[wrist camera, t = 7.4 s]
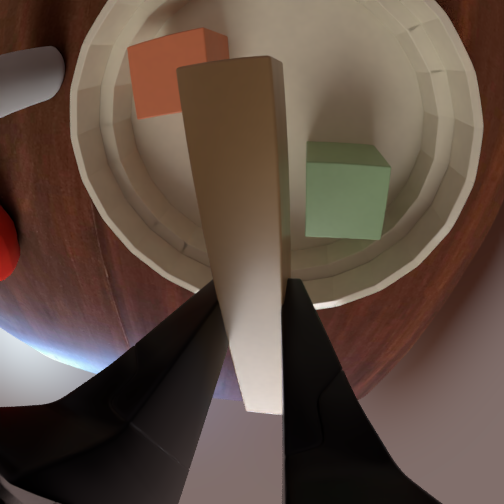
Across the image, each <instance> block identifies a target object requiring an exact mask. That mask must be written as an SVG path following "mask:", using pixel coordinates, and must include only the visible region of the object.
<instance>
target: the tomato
mask: <svg viewBox="0 0 504 504" xmlns="http://www.w3.org/2000/svg"><path fill="white" fill-rule="evenodd" d="M19 257H20V247H19V243H18V240H17V232H16V229H15V226H14V222H13V221H12V219H11V218H10V216H9V215H8V213H7V212H6V211H5V210H4V209H3V208H2V206H1V205H0V281H2V280H4V279H6V278H7V277H8V276H9V275H11V273H12V272H13V270H14V269H15V268H16V265H17V262H18V260H19Z"/></svg>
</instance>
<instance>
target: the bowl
mask: <svg viewBox="0 0 504 504" xmlns="http://www.w3.org/2000/svg"><path fill="white" fill-rule="evenodd" d="M201 27H204V28H207V29H209V30H212V31H215V32H217V33H220V34H223V35H225V36H227V37H228V47H229V58H230V59H232V58H241V57H252V56H265V55H268V56H271V57H273V58H275V59H277V60H279V61H281V62H282V63H283V74H284V88H285V103H286V119H287V138H288V161H289V189H290V234H291V278H299V279H301V280H302V282H303V284H304V286H305V288H306V290H307V293H308V295H309V297H310V299H311V301H312V303H313V305H314V307H315V309H316V310H317V309H324V308H331V307H336V306H340V305H343V304H346V303H349V302H351V301H354V300H357V299H360V298H362V297H365V296H368V295H370V294H373V293H376V292H378V291H381V290H382V289H384V288H385V287H387V286H389V285H390V284H392V283H393V282H395V281H396V280H398V279H399V278H401V277H402V276H404V275H405V274H407V273H408V272H410V271H411V270H413V269H414V268H416V267H417V266H418V265H419V264H420V263H421V262H422V261H423V260H424V259H425V258H426V257H427V256H428V255H429V254H430V253H431V252H432V251H433V249H434V248H435V247H436V246H437V245H438V244H439V243H440V242H441V241H442V239H443V238H444V237H445V236H446V235H447V234H448V233H449V231H450V230H451V228H452V227H453V225H454V224H455V222H456V220H457V218H458V216H459V214H460V212H461V210H462V208H463V206H464V204H465V202H466V200H467V198H468V196H469V194H470V191H471V189H472V187H473V185H474V182H475V178H476V173H477V168H478V162H479V156H480V150H481V144H482V136H483V117H482V109H481V101H480V95H479V89H478V83H477V78H476V73H475V70H474V67H473V65H472V63H471V60H470V58H469V56H468V54H467V51H466V49H465V47H464V45H463V43H462V41H461V39H460V37H459V35H458V33H457V31H456V30H455V28H454V26H453V24H452V22H451V21H450V19H449V17H448V15H446V12H445V11H444V10H443V9H442V8H441V7H440V6H439V4H438V3H437V2H436V1H435V0H108V1H107V3H106V4H105V6H104V7H103V9H102V10H101V12H100V14H99V15H98V17H97V19H96V20H95V22H94V24H93V25H92V27H91V29H90V30H89V32H88V34H87V36H86V38H85V40H84V41H83V42H84V43H83V44H82V47H81V50H80V54H79V57H78V61H77V64H76V68H75V72H74V76H73V80H72V84H71V90H70V135H71V141H72V145H73V149H74V153H75V157H76V161H77V165H78V168H79V172H80V175H81V179H82V181H83V183H84V185H85V187H86V189H87V191H88V193H89V195H90V197H91V198H92V200H93V202H94V204H95V206H96V208H97V210H98V211H99V213H100V215H101V217H102V218H103V220H104V221H105V222H106V223H107V225H108V226H109V227H110V228H111V229H112V231H113V232H114V233H115V234H116V235H117V236H118V238H119V239H120V240H121V241H122V242H123V243H124V245H125V246H126V247H127V248H128V249H129V250H130V251H131V252H132V253H133V254H134V255H136V256H137V257H138V258H139V259H141V260H142V261H143V262H144V263H146V264H147V265H148V266H150V267H151V268H152V269H154V270H155V271H156V272H157V273H159V274H160V275H161V276H163V277H164V278H166V279H168V280H169V281H171V282H173V283H175V284H177V285H179V286H181V287H183V288H185V289H187V290H189V291H191V292H193V293H195V294H196V293H197V292H198V291H199V290H200V289H202V288H203V287H204V286H205V285H206V284H207V283H209V282H210V281H211V280H212V279H213V277H212V273H211V268H210V263H209V259H208V254H207V249H206V244H205V239H204V235H203V230H202V225H201V220H200V214H199V209H198V204H197V199H196V193H195V188H194V182H193V177H192V171H191V165H190V160H189V154H188V148H187V142H186V135H185V129H184V123H183V116H182V112H181V113H174V114H168V115H162V116H156V117H151V118H145V119H140V120H138V119H137V114H136V109H135V102H134V96H133V90H132V83H131V76H130V68H129V60H128V51H127V48H128V47H129V46H132V45H135V44H138V43H141V42H145V41H148V40H151V39H155V38H158V37H162V36H166V35H170V34H174V33H178V32H182V31H187V30H191V29H196V28H201ZM307 141H313V142H338V143H354V144H367V145H374V146H375V147H376V148H377V150H378V151H379V152H380V153H381V155H382V156H383V157H384V158H385V160H386V161H387V162H388V164H389V165H390V166H391V175H390V183H389V190H388V198H387V204H386V211H385V217H384V223H383V228H382V234H381V239H380V240H371V239H351V238H329V237H306V236H305V211H306V142H307Z"/></svg>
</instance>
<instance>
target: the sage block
mask: <svg viewBox="0 0 504 504" xmlns="http://www.w3.org/2000/svg"><path fill="white" fill-rule="evenodd" d="M390 175H391V166H390V165H389V164H388V162H387V161H386V160H385V158H384V157H383V156H382V155H381V153H380V152H379V151H378V150H377V148H376V147H375V146H374V145H367V144H354V143H338V142H313V141H307V142H306V211H305V236H306V237H329V238H351V239H371V240H380V239H381V234H382V228H383V223H384V217H385V211H386V204H387V198H388V190H389V183H390Z"/></svg>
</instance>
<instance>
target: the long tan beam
mask: <svg viewBox="0 0 504 504" xmlns="http://www.w3.org/2000/svg"><path fill="white" fill-rule="evenodd" d="M176 73H177V81H178V88H179V96H180V103H181V109H182V116H183V123H184V129H185V135H186V142H187V148H188V154H189V160H190V165H191V171H192V177H193V182H194V188H195V193H196V199H197V204H198V209H199V214H200V220H201V225H202V230H203V235H204V239H205V244H206V249H207V254H208V259H209V263H210V268H211V273H212V277H213V282H214V286H215V291H216V295H217V299H218V301H219V305H220V309H221V313H222V318H223V322H224V326H225V330H226V334H227V338H228V342H229V344H228V345H229V349H230V353H231V357H232V361H233V365H234V369H235V372H236V376H237V380H238V384H239V387H240V391H241V395H242V398H243V402H244V405H245V409H246V411H250V412H259V413H268V414H278V415H282V355H281V306H282V305H283V304H284V299H285V293H286V286H287V280H288V278H291V234H290V189H289V161H288V138H287V119H286V103H285V88H284V74H283V63H282V62H281V61H279V60H277V59H275V58H273V57H271V56H268V55H265V56H252V57H241V58H232V59H224V60H217V61H210V62H204V63H198V64H193V65H187V66H182V67H178V68H177V69H176Z"/></svg>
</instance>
